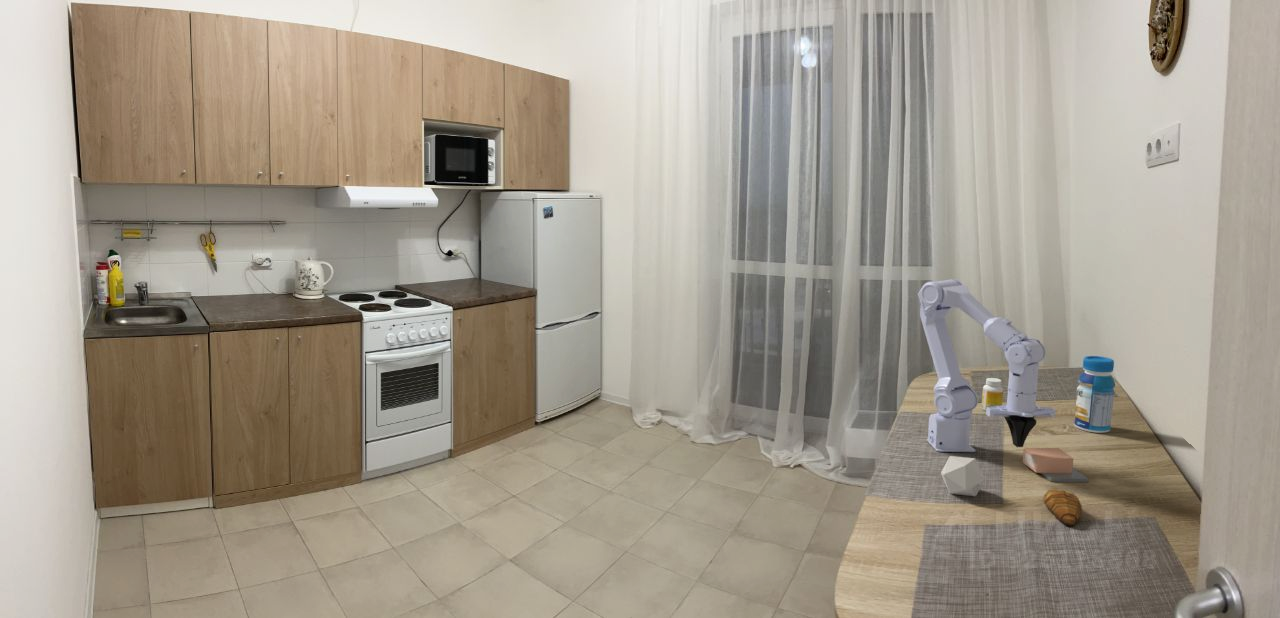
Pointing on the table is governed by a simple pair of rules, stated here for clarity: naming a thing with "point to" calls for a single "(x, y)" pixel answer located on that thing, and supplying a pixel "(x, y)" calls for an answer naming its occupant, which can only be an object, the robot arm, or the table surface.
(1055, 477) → the board
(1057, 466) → the block
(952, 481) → the die
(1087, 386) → the beverage bottle
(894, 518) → the table surface
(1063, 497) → the croissant
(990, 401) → the supplement bottle
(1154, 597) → the table surface
